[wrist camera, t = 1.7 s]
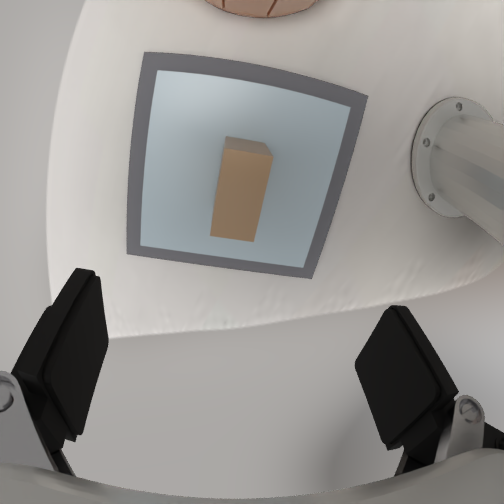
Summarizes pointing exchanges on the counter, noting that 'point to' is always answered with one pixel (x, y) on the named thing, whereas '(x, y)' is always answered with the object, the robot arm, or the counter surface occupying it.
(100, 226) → the counter surface
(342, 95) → the mat
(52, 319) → the robot arm
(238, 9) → the bowl
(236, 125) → the sheet
